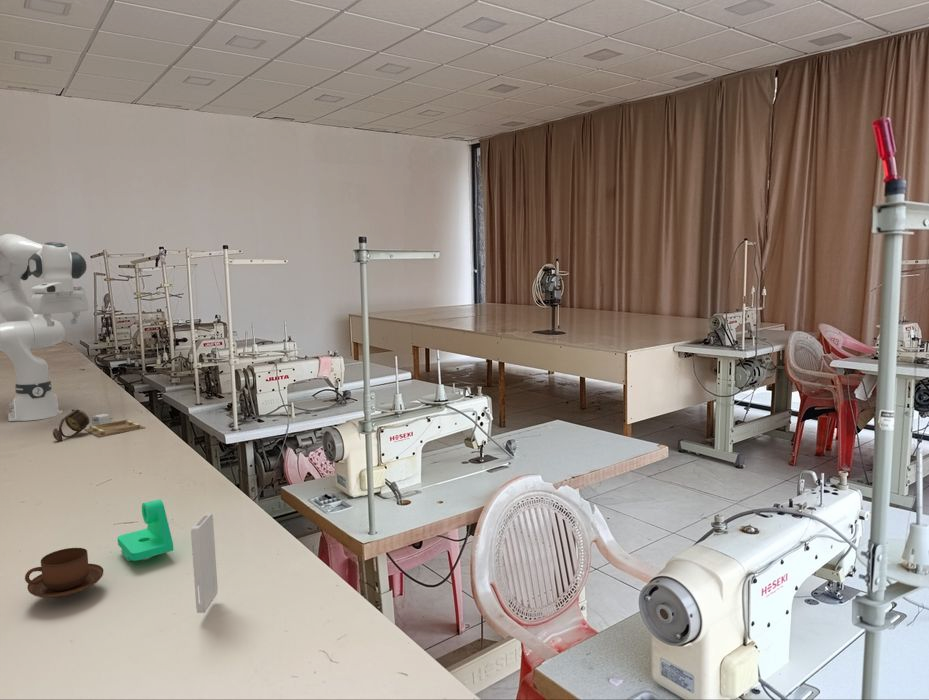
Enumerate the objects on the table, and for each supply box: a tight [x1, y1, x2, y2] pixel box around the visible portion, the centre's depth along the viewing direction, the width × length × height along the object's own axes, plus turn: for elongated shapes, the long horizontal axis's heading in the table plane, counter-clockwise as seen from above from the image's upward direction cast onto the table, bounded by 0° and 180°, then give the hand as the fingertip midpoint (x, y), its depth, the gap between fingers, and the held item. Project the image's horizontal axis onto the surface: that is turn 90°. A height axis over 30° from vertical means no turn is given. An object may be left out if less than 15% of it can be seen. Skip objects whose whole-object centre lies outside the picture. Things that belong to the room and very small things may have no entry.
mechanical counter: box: [52, 408, 90, 442], centre depth 230 cm, size 7×13×10 cm, turn 174°
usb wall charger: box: [91, 413, 113, 425], centre depth 251 cm, size 4×7×4 cm, turn 159°
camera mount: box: [116, 499, 174, 562], centre depth 136 cm, size 12×8×10 cm, turn 42°
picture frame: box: [83, 419, 146, 439], centre depth 240 cm, size 15×16×2 cm
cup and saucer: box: [24, 547, 105, 599], centre depth 120 cm, size 12×12×6 cm
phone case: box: [190, 513, 219, 614], centre depth 113 cm, size 7×1×15 cm, turn 3°
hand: (62, 325), depth 240 cm, fingers open, 8 cm apart
